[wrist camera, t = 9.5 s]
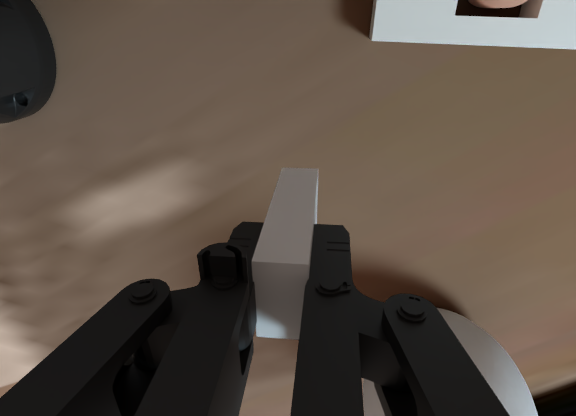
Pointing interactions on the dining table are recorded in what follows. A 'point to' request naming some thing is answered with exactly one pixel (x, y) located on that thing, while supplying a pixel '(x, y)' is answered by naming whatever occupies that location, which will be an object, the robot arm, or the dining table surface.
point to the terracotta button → (496, 3)
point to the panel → (475, 24)
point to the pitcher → (488, 361)
